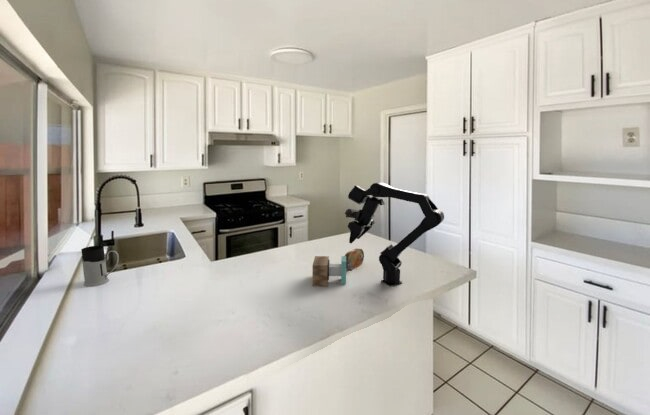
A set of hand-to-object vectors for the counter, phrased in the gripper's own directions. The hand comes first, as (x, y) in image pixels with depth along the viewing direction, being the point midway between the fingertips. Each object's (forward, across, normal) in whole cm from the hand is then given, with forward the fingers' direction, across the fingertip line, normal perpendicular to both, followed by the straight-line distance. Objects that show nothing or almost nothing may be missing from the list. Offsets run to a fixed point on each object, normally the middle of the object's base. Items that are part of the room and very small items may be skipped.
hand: (353, 240), depth 141 cm
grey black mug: (+54, +53, -77) cm, 108 cm away
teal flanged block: (+16, +9, +2) cm, 19 cm away
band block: (+19, +11, -3) cm, 22 cm away
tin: (+16, -12, +3) cm, 20 cm away
